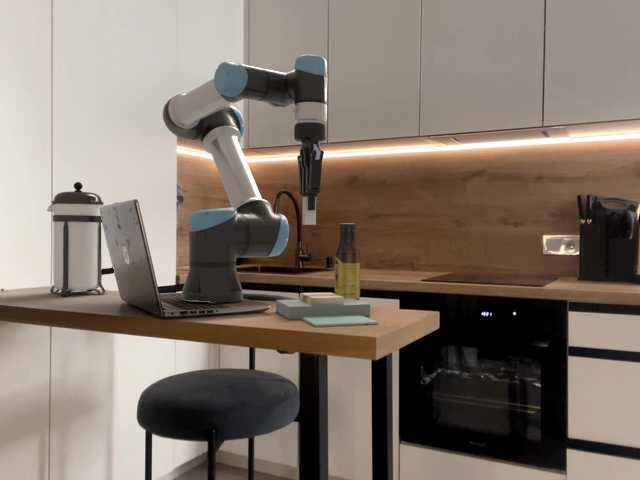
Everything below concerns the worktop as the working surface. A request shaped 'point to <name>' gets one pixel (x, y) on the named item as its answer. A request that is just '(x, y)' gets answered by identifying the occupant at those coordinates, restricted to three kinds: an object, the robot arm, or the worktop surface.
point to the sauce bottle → (347, 263)
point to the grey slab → (321, 308)
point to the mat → (338, 320)
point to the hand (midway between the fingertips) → (309, 224)
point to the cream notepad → (322, 298)
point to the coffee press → (77, 242)
